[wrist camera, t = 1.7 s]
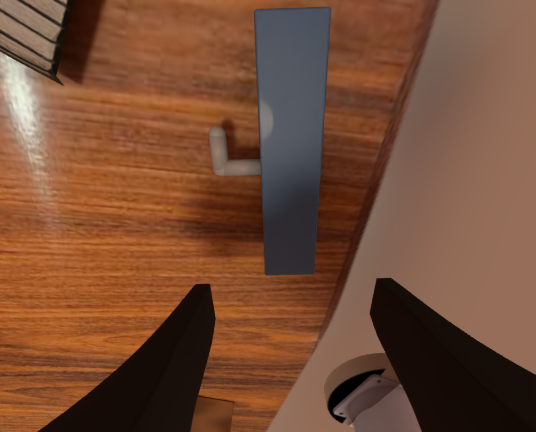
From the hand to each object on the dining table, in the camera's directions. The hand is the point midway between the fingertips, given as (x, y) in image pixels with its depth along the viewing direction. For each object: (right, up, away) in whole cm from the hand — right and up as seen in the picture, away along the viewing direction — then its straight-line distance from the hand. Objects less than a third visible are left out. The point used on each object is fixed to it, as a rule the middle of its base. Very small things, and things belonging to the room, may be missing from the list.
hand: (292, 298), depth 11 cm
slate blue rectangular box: (-1, +7, +4) cm, 8 cm away
